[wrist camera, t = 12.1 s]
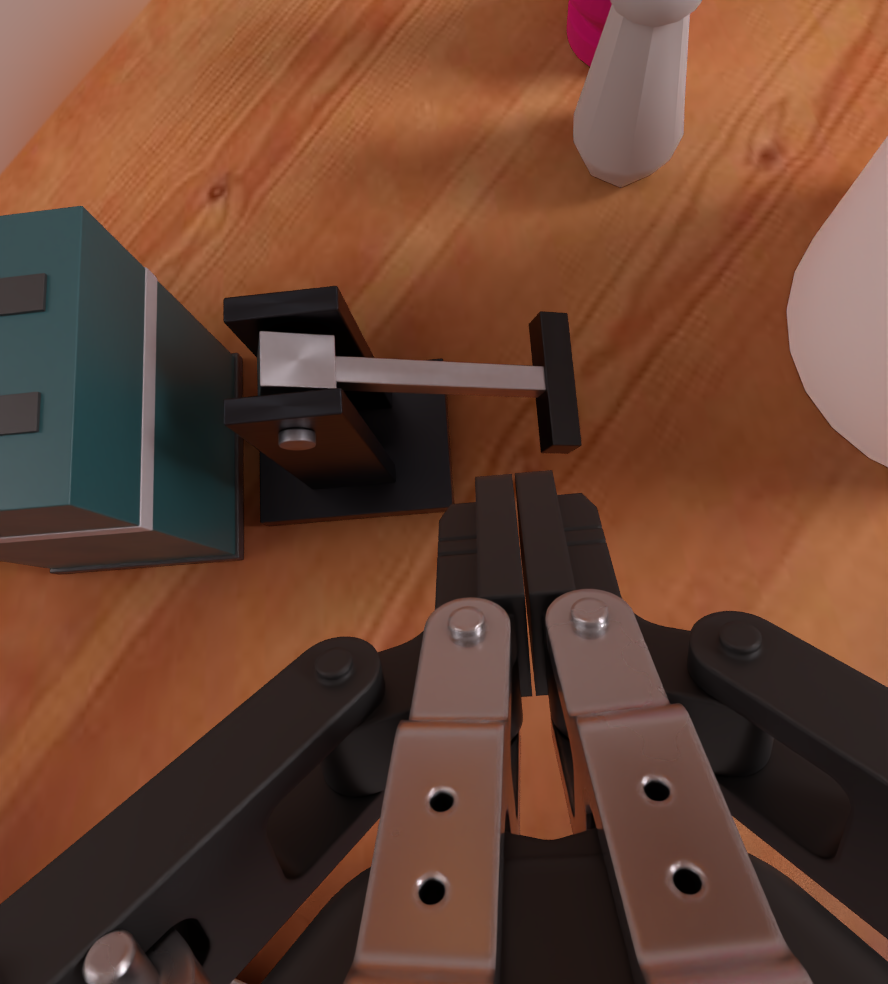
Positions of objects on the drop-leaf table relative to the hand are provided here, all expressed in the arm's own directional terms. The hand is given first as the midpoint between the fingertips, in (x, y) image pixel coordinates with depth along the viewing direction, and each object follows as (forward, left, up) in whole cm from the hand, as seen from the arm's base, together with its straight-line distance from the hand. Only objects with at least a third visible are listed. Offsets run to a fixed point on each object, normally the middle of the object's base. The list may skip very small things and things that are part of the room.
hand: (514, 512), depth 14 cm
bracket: (+5, +10, -23) cm, 26 cm away
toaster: (+1, +21, -23) cm, 31 cm away
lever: (+7, +6, -15) cm, 17 cm away
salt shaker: (+25, +1, -23) cm, 34 cm away
